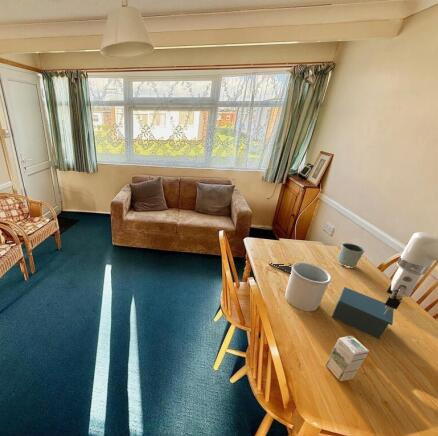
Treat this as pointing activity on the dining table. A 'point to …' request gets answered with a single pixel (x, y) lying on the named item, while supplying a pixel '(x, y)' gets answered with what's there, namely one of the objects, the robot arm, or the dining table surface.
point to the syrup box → (346, 358)
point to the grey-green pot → (350, 254)
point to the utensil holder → (306, 286)
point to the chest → (359, 320)
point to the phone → (284, 267)
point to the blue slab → (367, 305)
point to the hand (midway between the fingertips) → (391, 300)
